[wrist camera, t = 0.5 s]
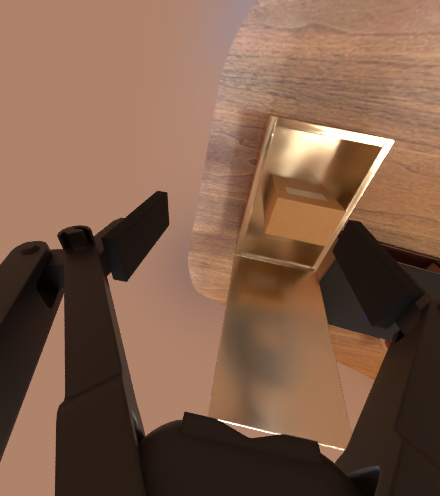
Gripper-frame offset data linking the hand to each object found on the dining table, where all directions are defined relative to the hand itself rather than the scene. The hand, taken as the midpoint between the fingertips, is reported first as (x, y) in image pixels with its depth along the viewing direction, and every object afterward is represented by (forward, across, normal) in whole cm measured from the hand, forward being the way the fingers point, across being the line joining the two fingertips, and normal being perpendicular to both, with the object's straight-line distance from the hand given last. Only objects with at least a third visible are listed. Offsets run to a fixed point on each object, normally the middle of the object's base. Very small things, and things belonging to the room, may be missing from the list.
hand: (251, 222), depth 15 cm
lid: (+3, +6, -15) cm, 17 cm away
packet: (+19, +7, -4) cm, 21 cm away
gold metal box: (+20, +7, -4) cm, 22 cm away
